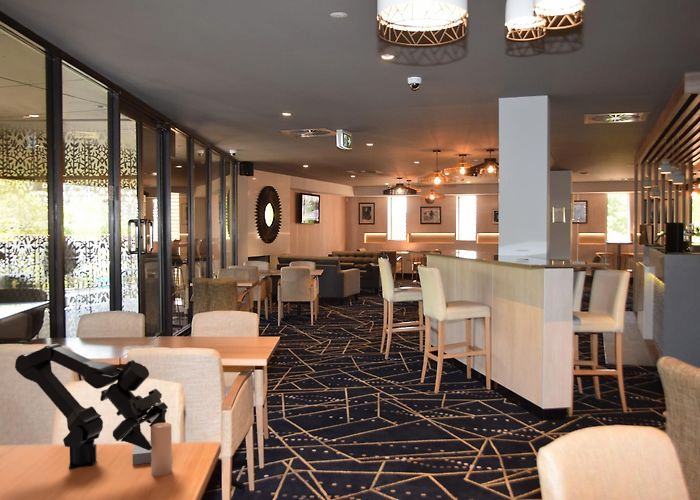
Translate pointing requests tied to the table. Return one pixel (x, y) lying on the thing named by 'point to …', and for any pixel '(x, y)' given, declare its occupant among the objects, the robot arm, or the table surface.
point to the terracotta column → (161, 449)
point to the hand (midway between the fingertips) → (160, 443)
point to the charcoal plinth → (141, 455)
